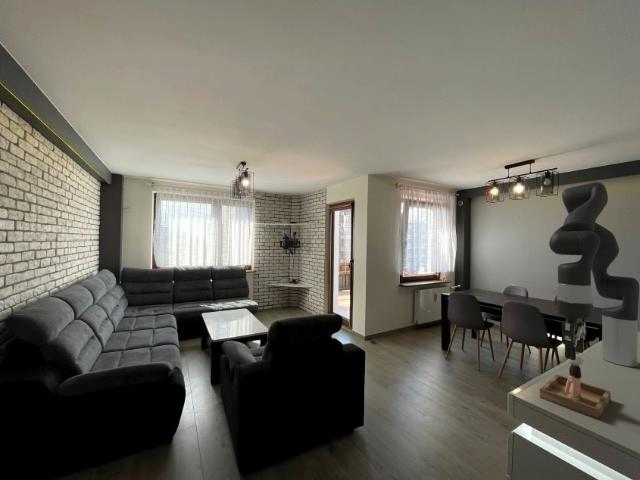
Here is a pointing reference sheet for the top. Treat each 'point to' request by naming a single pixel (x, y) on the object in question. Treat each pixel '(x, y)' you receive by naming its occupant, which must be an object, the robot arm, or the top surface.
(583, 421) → the top surface
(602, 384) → the top surface
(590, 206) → the robot arm
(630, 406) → the top surface
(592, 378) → the top surface
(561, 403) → the walnut tray
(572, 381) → the grandmother figurine
